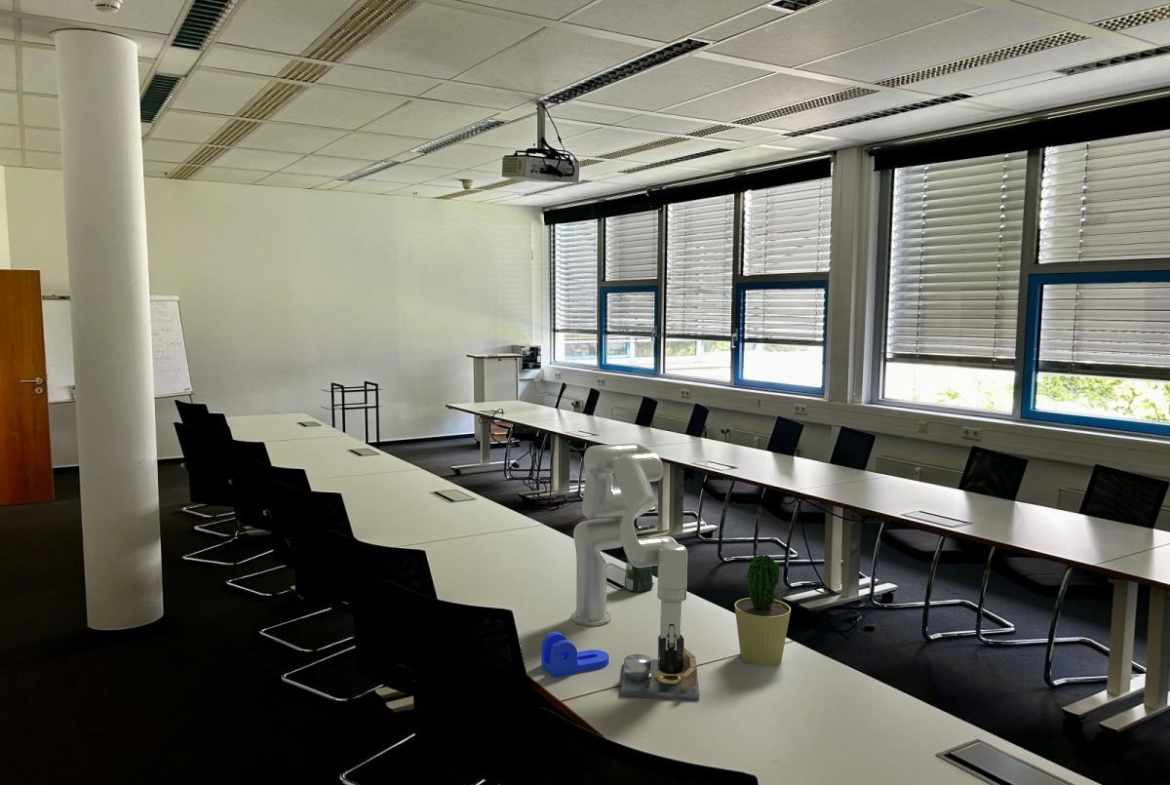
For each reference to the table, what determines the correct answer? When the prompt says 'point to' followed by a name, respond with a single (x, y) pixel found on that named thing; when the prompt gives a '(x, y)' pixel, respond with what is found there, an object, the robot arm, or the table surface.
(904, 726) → the table surface
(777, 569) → the potted cactus
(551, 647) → the bracket
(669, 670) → the supplement bottle
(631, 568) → the coffee jar
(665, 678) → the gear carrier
